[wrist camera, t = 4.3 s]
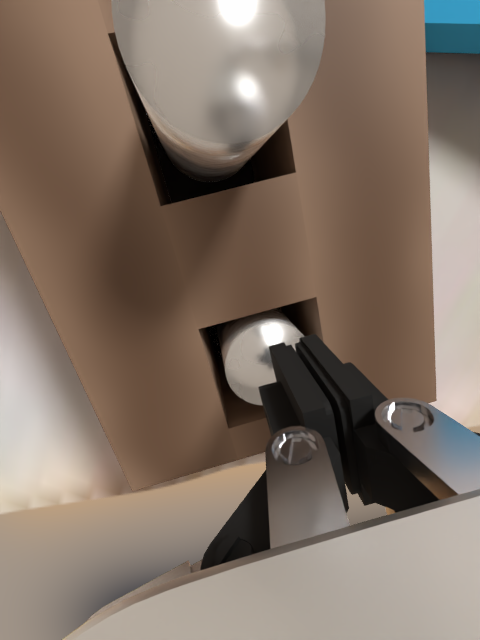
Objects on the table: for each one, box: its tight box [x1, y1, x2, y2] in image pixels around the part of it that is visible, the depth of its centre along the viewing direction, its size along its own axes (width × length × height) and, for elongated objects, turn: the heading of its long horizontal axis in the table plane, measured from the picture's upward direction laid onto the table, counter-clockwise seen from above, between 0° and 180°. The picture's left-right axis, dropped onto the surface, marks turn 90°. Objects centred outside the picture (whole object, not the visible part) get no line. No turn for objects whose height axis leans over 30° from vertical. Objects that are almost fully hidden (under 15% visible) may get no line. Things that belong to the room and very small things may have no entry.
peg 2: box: [216, 308, 305, 405], centre depth 16 cm, size 4×4×7 cm
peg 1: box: [112, 0, 326, 182], centre depth 9 cm, size 4×4×7 cm
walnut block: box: [0, 0, 436, 491], centre depth 14 cm, size 14×17×7 cm
